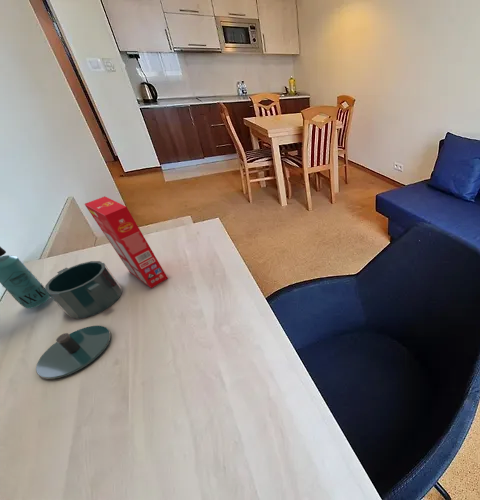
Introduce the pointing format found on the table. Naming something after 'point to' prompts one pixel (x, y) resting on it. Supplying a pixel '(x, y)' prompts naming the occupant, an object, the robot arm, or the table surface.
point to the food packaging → (127, 240)
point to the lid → (73, 352)
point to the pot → (84, 289)
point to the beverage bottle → (21, 282)
